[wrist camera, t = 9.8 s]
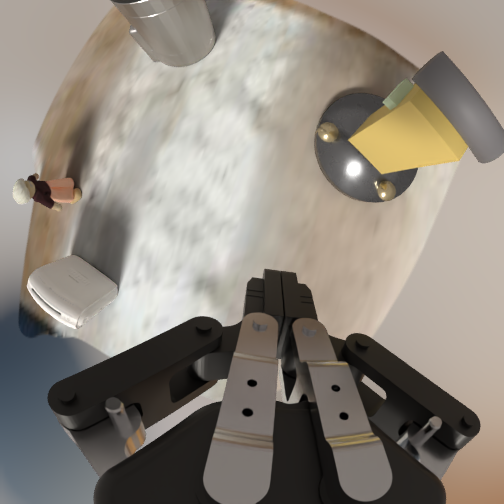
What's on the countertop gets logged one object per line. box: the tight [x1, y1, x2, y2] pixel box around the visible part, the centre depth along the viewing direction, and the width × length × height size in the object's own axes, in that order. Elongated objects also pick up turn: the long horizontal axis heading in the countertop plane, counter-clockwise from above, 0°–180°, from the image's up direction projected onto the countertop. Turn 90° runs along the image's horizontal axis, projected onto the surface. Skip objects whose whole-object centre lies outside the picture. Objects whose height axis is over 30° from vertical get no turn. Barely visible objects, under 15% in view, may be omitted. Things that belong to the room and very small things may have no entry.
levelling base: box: [314, 93, 418, 202], centre depth 35 cm, size 15×15×2 cm
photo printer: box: [27, 255, 118, 329], centre depth 34 cm, size 10×4×12 cm, turn 59°
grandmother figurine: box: [13, 173, 82, 211], centre depth 32 cm, size 8×4×13 cm, turn 56°
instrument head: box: [348, 51, 504, 174], centre depth 23 cm, size 5×8×21 cm, turn 48°
